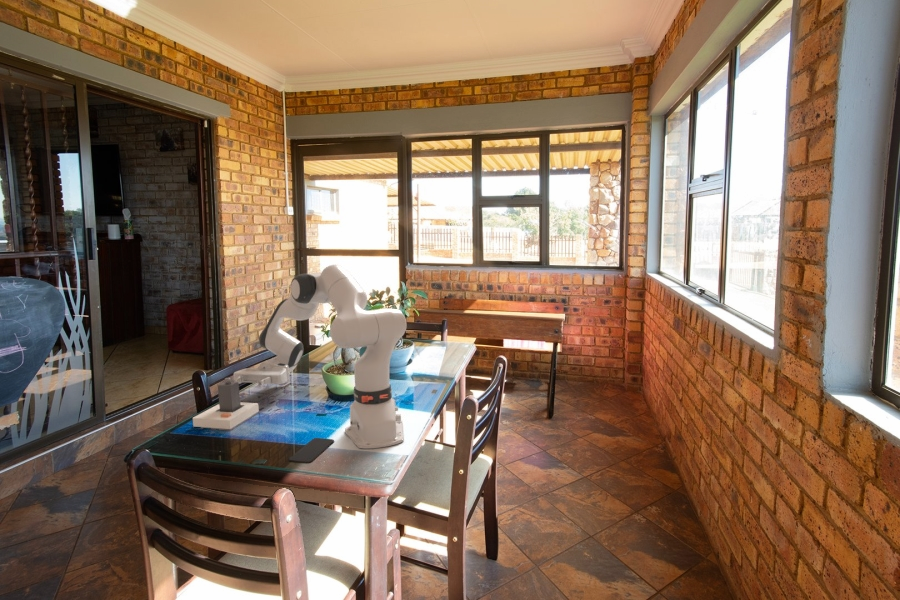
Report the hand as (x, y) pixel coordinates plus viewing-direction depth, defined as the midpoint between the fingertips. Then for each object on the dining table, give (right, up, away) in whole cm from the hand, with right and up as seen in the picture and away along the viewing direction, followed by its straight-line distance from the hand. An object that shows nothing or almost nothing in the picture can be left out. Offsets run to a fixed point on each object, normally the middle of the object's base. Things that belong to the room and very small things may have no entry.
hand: (248, 382), depth 185 cm
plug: (-2, -10, -10) cm, 14 cm away
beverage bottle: (+41, -5, +22) cm, 47 cm away
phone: (+34, -15, -37) cm, 52 cm away
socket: (-3, -11, -12) cm, 16 cm away
